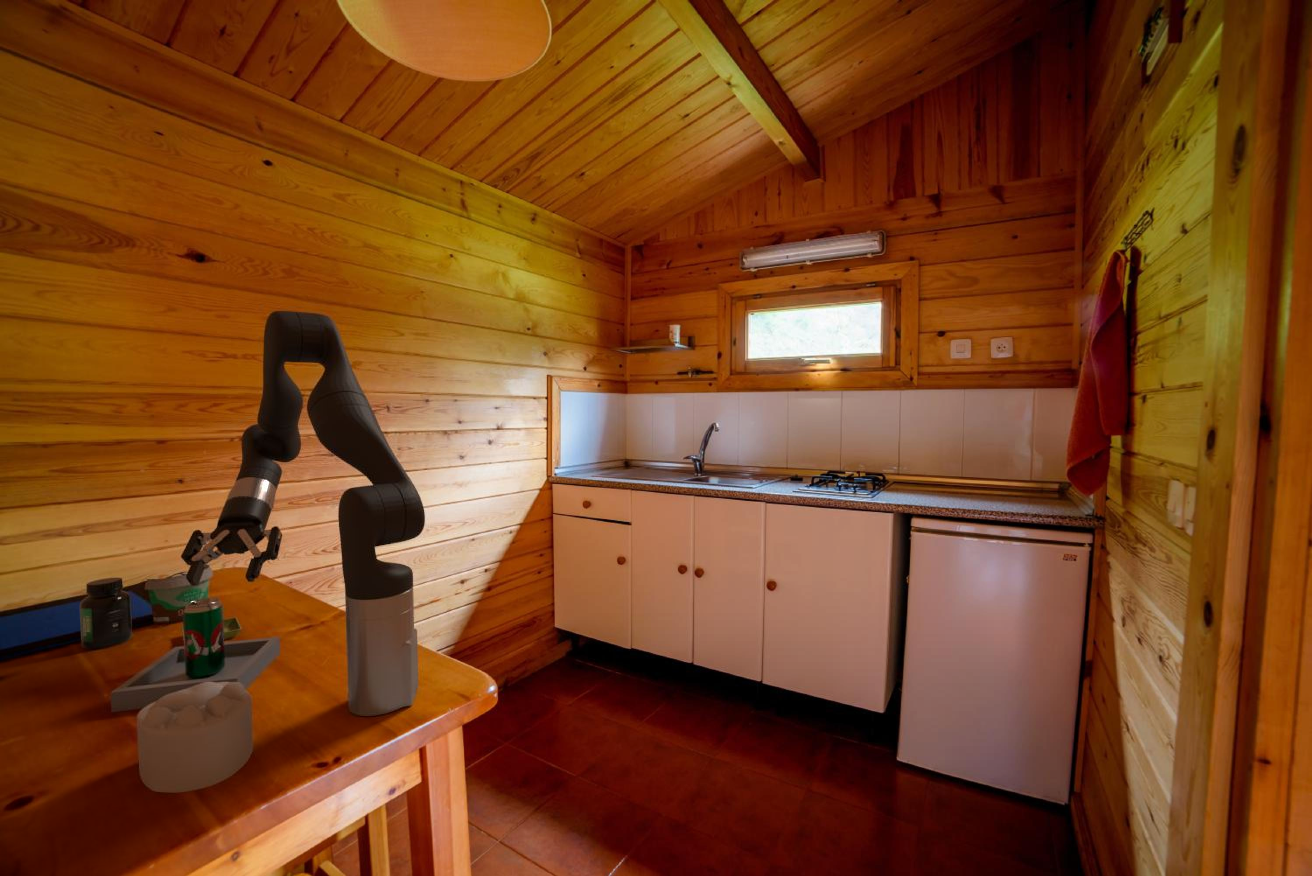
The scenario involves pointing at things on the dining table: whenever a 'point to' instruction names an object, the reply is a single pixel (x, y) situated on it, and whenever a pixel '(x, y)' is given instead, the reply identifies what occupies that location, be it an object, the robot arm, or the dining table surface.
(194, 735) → the lumpy-topped squat cylinder
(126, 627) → the supplement bottle
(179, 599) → the food container
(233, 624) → the green square dish
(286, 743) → the dining table surface
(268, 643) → the tray
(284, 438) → the robot arm
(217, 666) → the soda can
